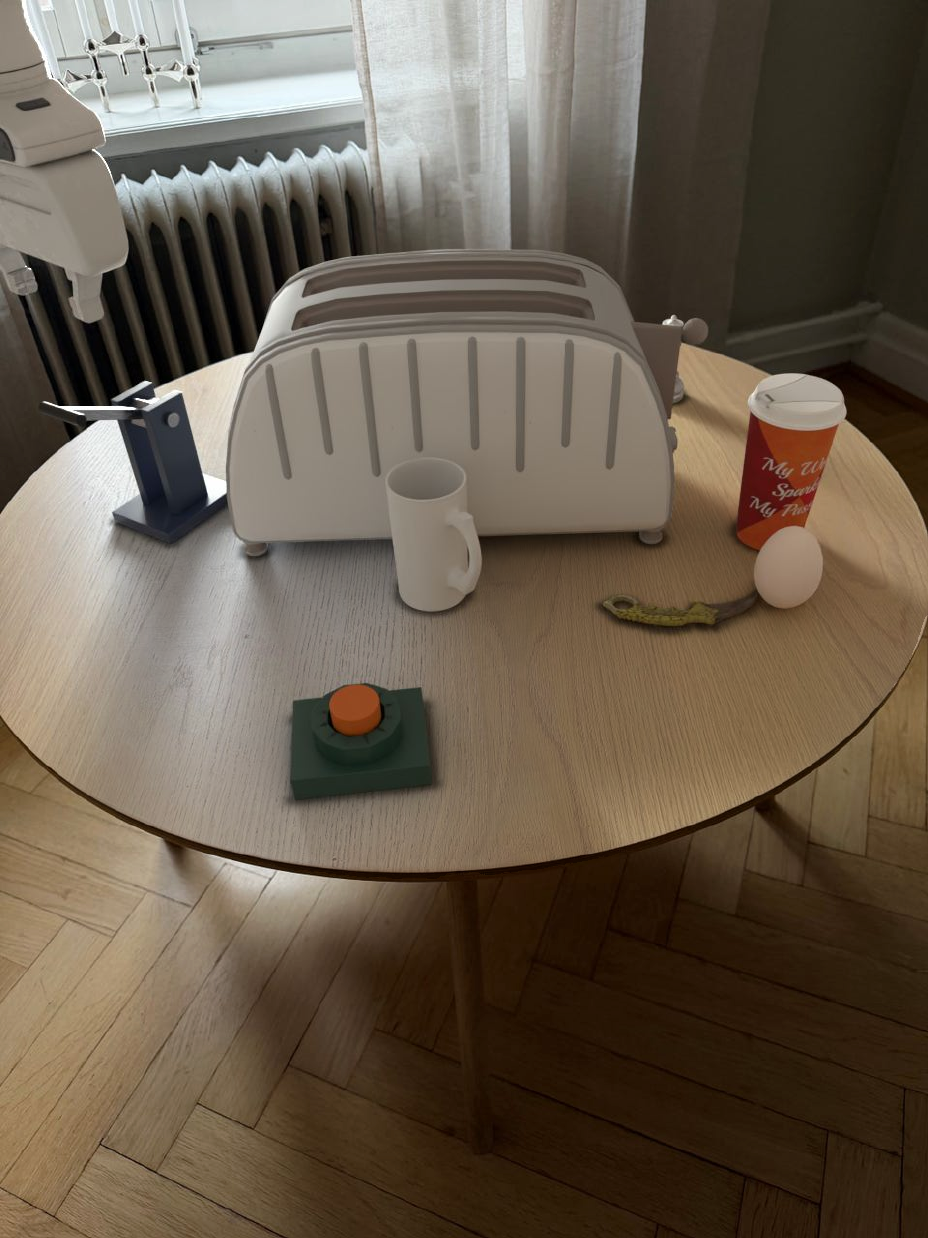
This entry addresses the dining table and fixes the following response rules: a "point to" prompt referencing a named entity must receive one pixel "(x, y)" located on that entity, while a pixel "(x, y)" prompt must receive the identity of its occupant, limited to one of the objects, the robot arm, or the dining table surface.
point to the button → (355, 710)
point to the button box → (359, 747)
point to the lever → (97, 412)
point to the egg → (788, 567)
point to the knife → (677, 617)
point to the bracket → (165, 469)
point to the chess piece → (679, 383)
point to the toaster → (455, 398)
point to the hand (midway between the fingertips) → (56, 305)
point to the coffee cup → (785, 452)
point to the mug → (432, 533)
